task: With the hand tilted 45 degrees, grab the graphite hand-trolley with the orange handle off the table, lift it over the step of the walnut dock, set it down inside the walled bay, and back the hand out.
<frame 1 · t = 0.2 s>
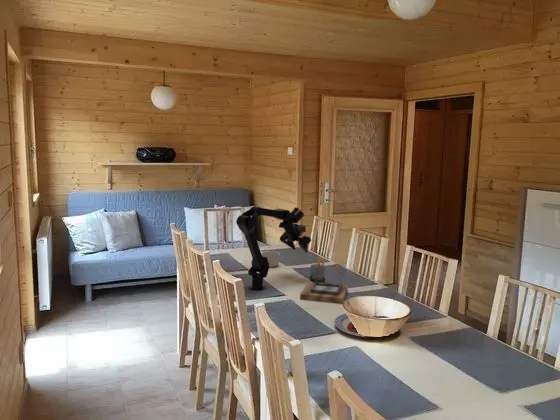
hand: (300, 250, 258), 15 cm above the table, tool tilted 35°, fingers open, 9 cm apart
dock: (324, 294, 231), on the table
ceramic plate: (366, 329, 191), on the table
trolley: (317, 281, 253), on the table
teacup: (267, 266, 282), on the table
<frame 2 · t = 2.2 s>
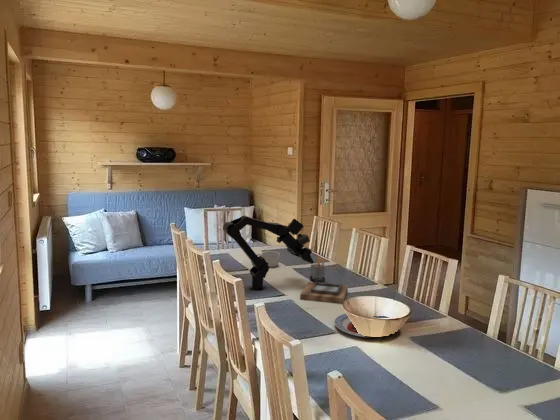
hand: (309, 260, 249), 12 cm above the table, tool tilted 45°, fingers open, 9 cm apart
nothing on the table moved.
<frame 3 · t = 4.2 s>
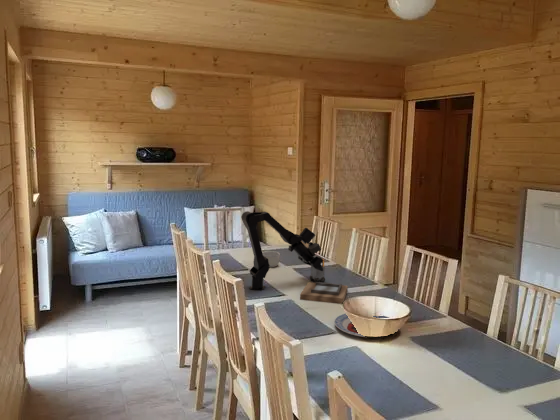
hand: (319, 269, 253), 7 cm above the table, tool tilted 45°, fingers closed on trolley, 6 cm apart
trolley: (317, 281, 253), on the table, touching gripper
everything else where it was.
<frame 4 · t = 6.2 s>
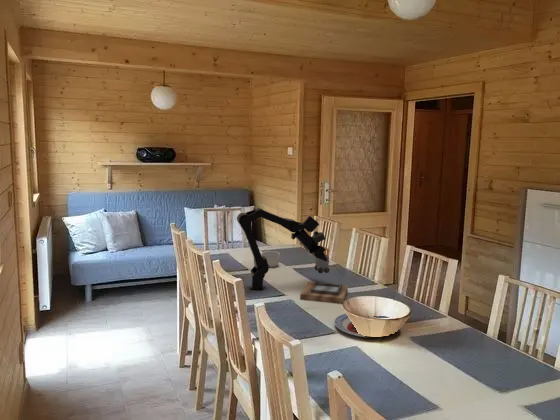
hand: (324, 259, 246), 13 cm above the table, tool tilted 45°, fingers closed on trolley, 6 cm apart
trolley: (321, 271, 247), point 7 cm above the table, touching gripper
everything else where it was.
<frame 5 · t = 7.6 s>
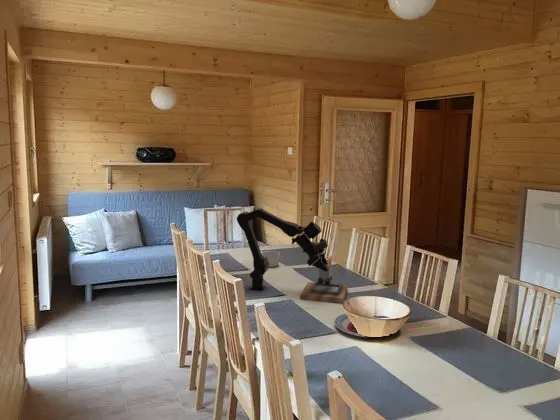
hand: (328, 269, 229), 13 cm above the table, tool tilted 45°, fingers closed on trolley, 6 cm apart
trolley: (324, 282, 230), point 6 cm above the table, touching gripper
everything else where it was.
when the fingers open (11 cm above the table, at t = 8.5 s): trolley drops 1 cm, resting on dock.
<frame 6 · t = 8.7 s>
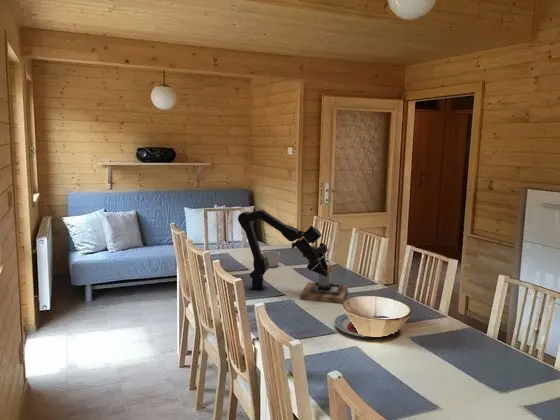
hand: (328, 273, 229), 11 cm above the table, tool tilted 45°, fingers open, 8 cm apart
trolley: (324, 289, 231), point 3 cm above the table, touching dock
everything else where it was.
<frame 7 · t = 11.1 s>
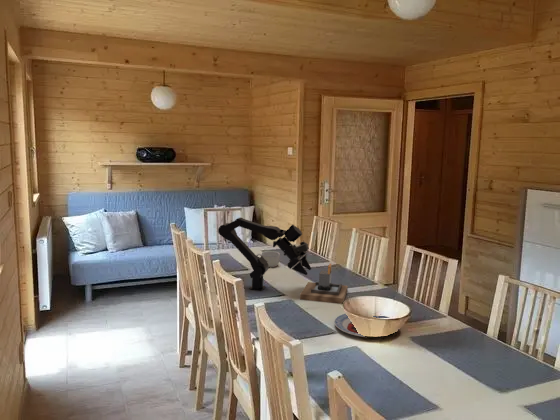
hand: (308, 271, 232), 11 cm above the table, tool tilted 45°, fingers open, 9 cm apart
nothing on the table moved.
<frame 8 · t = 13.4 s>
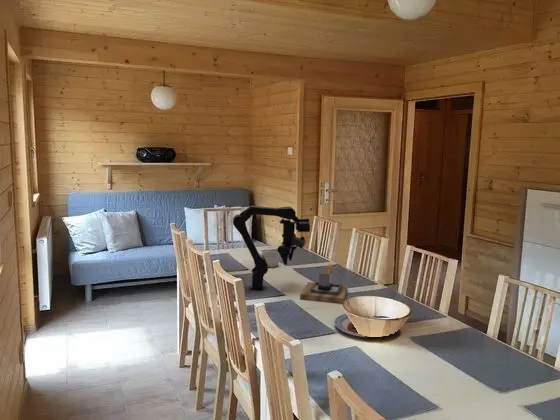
hand: (288, 262, 239), 13 cm above the table, tool pointing down, fingers open, 9 cm apart
nothing on the table moved.
at the end: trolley inside the target area on the dock (0.1 cm from its centre), point 2.7 cm above the dock's base; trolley tilted 0°; the gripper is holding nothing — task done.
